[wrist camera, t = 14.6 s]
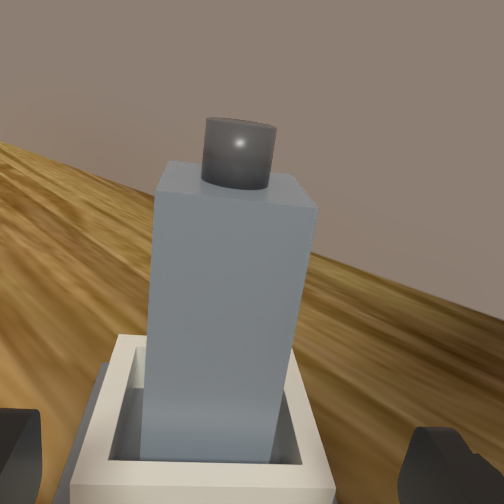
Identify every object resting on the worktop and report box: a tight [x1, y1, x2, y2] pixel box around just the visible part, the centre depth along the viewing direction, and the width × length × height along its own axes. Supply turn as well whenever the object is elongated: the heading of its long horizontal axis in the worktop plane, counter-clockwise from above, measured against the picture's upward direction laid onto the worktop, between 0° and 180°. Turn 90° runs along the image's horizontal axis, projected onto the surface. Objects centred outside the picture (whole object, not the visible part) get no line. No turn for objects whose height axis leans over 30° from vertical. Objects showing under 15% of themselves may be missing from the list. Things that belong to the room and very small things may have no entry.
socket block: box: [52, 334, 338, 504], centre depth 20 cm, size 11×11×3 cm
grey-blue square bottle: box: [140, 118, 319, 464], centre depth 18 cm, size 5×5×14 cm
